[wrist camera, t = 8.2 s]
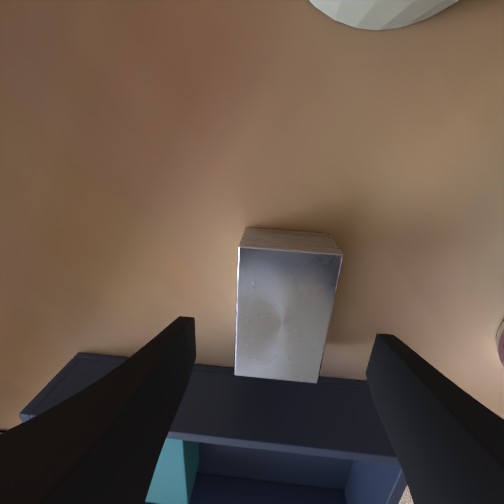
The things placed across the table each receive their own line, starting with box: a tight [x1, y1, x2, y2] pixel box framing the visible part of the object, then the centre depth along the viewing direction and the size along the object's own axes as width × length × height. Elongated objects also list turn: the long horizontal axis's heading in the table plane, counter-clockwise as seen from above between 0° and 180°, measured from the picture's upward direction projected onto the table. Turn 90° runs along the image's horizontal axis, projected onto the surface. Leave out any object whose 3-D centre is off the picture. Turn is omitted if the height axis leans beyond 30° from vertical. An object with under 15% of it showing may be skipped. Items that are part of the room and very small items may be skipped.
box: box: [19, 353, 407, 504], centre depth 16 cm, size 20×11×4 cm, turn 87°
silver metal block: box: [234, 228, 343, 384], centre depth 13 cm, size 4×7×3 cm, turn 177°
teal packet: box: [145, 438, 199, 504], centre depth 17 cm, size 4×7×3 cm, turn 177°
